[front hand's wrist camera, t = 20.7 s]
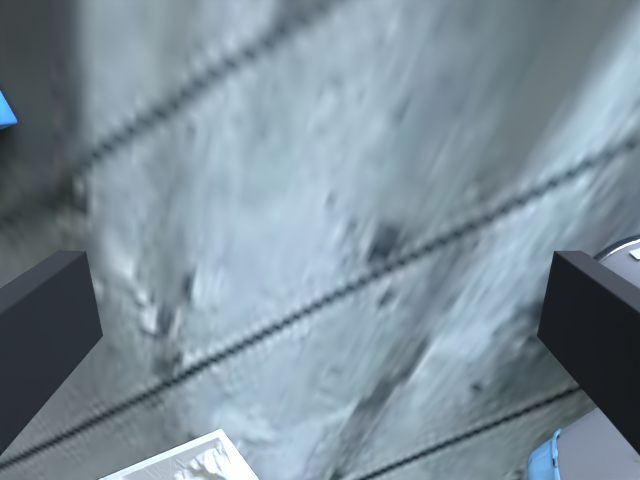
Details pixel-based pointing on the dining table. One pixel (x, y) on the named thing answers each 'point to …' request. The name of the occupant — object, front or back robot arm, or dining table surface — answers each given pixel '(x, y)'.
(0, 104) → the ink box
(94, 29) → the dining table surface
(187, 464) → the relief map
